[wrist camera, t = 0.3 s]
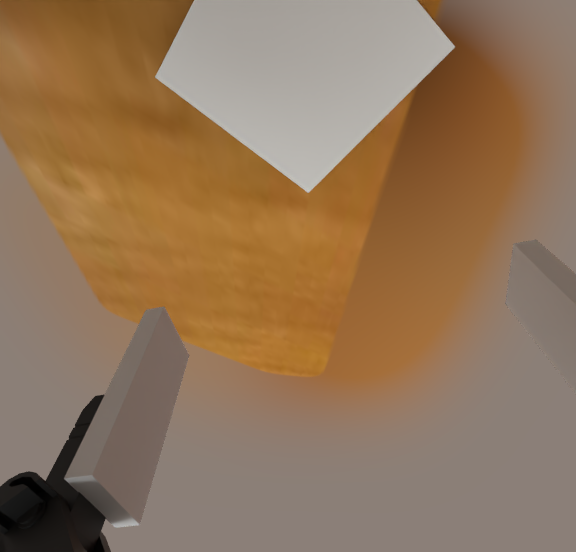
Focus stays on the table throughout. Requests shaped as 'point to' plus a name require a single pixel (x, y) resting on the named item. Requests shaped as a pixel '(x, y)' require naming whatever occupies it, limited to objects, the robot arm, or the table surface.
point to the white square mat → (301, 72)
